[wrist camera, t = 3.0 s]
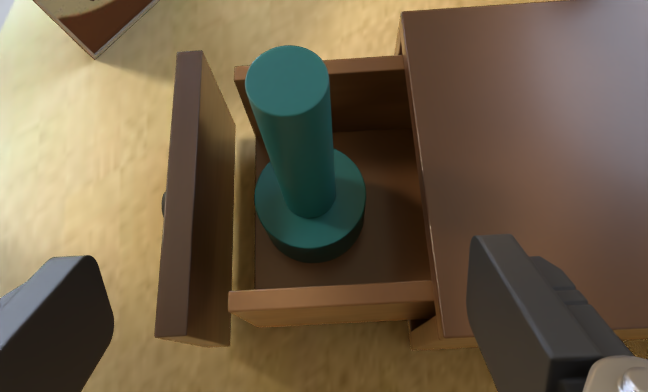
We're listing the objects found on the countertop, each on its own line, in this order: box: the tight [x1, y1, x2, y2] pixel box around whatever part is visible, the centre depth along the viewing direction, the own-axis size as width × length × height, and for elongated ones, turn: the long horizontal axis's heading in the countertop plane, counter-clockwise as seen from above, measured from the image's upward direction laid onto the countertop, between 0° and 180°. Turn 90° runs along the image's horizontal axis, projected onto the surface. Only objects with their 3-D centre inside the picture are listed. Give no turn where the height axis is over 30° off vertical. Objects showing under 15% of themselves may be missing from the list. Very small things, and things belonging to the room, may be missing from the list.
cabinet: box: [394, 0, 648, 351], centre depth 22 cm, size 16×14×9 cm
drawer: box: [154, 50, 436, 348], centre depth 22 cm, size 16×13×7 cm
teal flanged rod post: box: [245, 45, 366, 263], centre depth 19 cm, size 5×5×12 cm
